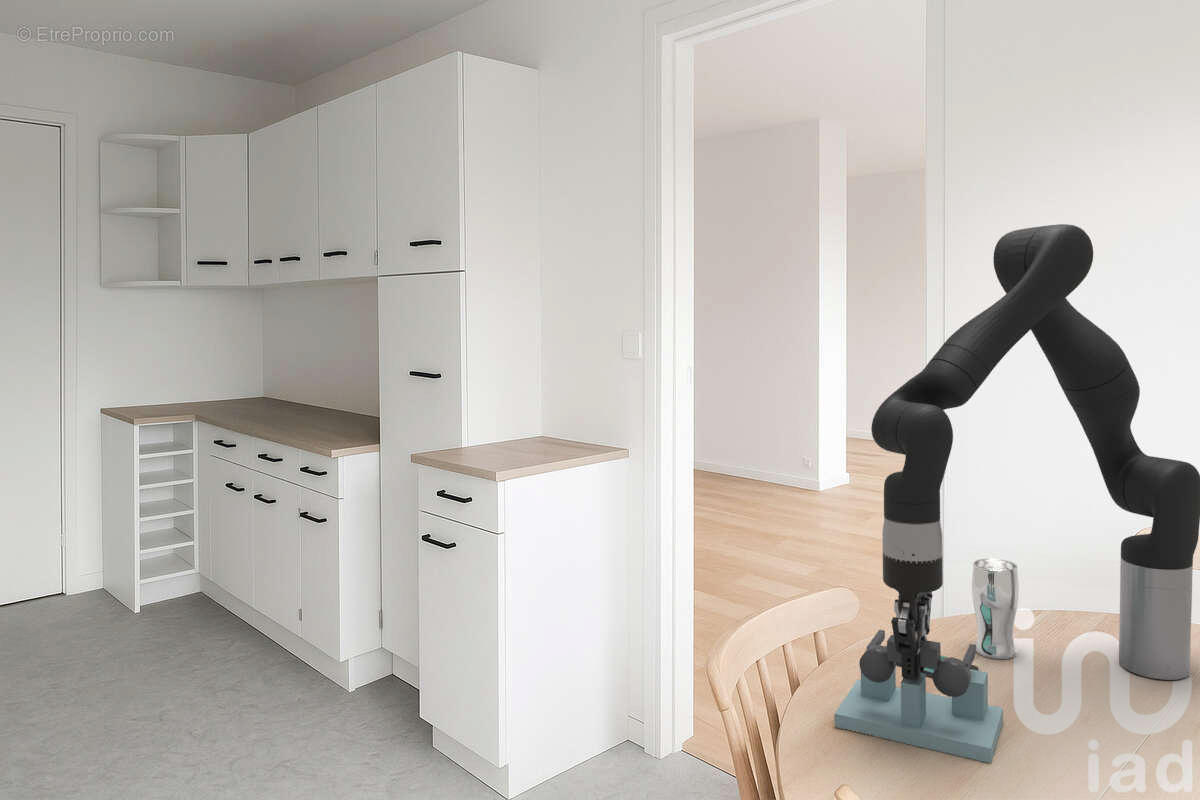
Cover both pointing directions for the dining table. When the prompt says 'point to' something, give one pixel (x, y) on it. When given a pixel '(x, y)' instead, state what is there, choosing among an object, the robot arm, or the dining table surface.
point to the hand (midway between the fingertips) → (913, 673)
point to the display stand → (925, 715)
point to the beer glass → (995, 606)
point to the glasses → (946, 676)
